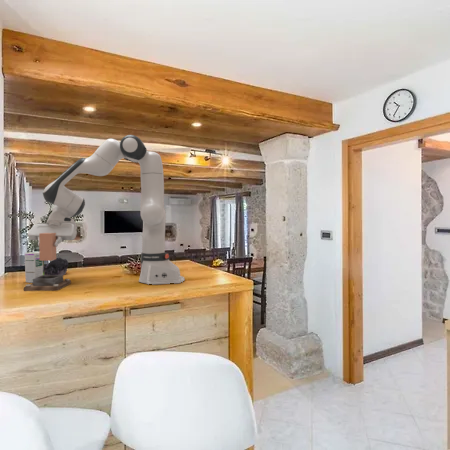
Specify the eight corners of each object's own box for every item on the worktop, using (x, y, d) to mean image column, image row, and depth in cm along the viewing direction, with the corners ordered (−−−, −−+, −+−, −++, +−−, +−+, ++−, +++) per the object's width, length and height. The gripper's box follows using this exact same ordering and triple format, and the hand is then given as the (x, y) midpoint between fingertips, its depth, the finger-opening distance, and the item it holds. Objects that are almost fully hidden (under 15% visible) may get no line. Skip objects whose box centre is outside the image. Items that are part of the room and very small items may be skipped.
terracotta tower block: (56, 259, 146) (56, 232, 146) (51, 260, 141) (51, 233, 141) (45, 259, 146) (44, 232, 145) (39, 260, 141) (39, 233, 140)
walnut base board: (70, 283, 151) (70, 274, 151) (57, 290, 137) (57, 280, 137) (40, 283, 150) (40, 274, 150) (23, 290, 136) (23, 280, 136)
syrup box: (35, 283, 152) (35, 252, 151) (24, 282, 153) (24, 252, 152) (44, 280, 157) (44, 251, 157) (34, 280, 158) (33, 251, 158)
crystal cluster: (33, 277, 168) (33, 259, 167) (53, 271, 181) (53, 254, 180) (55, 281, 165) (55, 262, 164) (73, 274, 178) (73, 256, 177)
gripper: (32, 218, 149) (20, 241, 140) (77, 219, 150) (68, 241, 141) (37, 227, 154) (25, 250, 144) (80, 228, 155) (72, 250, 146)
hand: (47, 245), depth 143 cm, fingers closed on terracotta tower block, 5 cm apart
